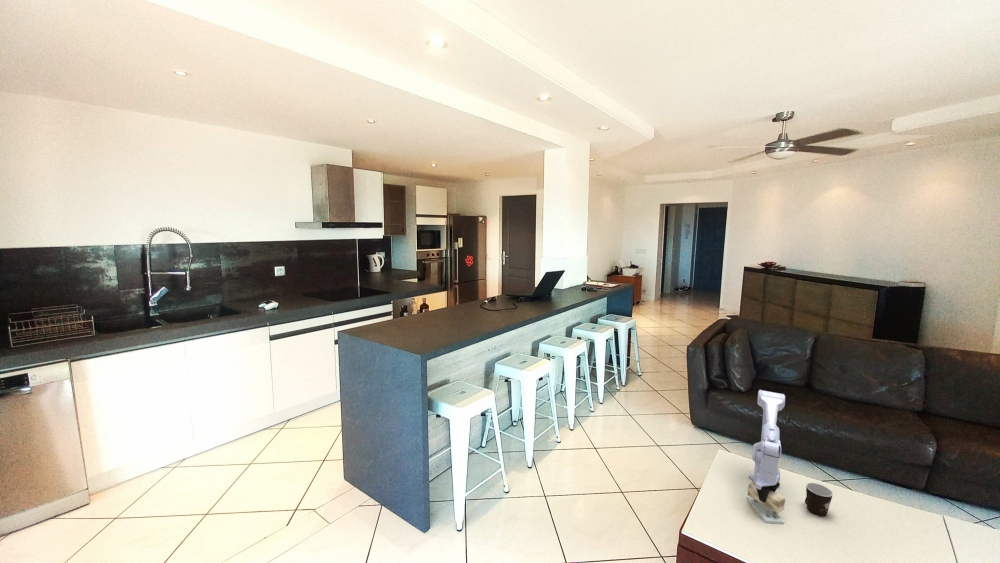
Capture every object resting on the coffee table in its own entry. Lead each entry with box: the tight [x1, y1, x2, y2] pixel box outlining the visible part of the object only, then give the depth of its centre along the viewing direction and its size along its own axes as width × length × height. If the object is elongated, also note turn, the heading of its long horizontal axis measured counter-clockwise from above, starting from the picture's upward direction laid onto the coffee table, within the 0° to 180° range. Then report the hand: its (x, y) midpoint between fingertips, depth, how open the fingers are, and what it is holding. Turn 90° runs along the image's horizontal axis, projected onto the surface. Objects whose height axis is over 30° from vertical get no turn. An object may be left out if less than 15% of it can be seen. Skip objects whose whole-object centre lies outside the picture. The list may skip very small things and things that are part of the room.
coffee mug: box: [804, 482, 834, 518], centre depth 162 cm, size 12×9×10 cm
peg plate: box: [746, 496, 785, 525], centre depth 163 cm, size 14×7×3 cm, turn 175°
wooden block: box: [747, 481, 786, 514], centre depth 162 cm, size 12×4×5 cm, turn 28°
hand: (765, 499), depth 162 cm, fingers closed on wooden block, 4 cm apart
